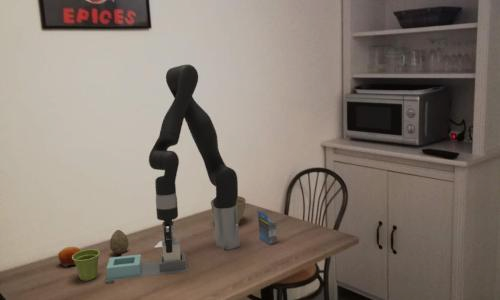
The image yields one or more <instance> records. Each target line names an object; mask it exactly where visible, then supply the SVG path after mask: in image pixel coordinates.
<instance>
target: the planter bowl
mask: <svg viewBox="0 0 500 300" xmlns="http://www.w3.org/2000/svg"><path fill="white" fill-rule="evenodd" d="M213 200H214V198H213V199H211V200H210V205H211V206H210V207H211V211H212V214H213V215H214V205H213ZM236 205H237V223H238V224H240V223H241V219H242V218H243V216H244V213H245V211H246V210H245V209H246V198H245V197H243V196H240V195H238V197H237V200H236Z"/></svg>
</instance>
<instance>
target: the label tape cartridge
mask: <svg viewBox="0 0 500 300" xmlns="http://www.w3.org/2000/svg"><path fill="white" fill-rule="evenodd" d="M257 218H258V233H259V234H258V235H259V237H258V238H259V239H261V240H262V241H263V242H265V244H268V245H272V244H273V245H274V244H277V224H276V223H275V222H273V221H272V220H270V219H269V217H268V215H267V214H265V213H263V212H262V211H260V210H257Z"/></svg>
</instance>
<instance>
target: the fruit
mask: <svg viewBox="0 0 500 300" xmlns="http://www.w3.org/2000/svg"><path fill="white" fill-rule="evenodd" d="M80 251H81V250H80V248H78V247H77V246H67V247H64V248H63V249H61V250H60V251H59V252H58V254H57V255H58V260H59V262H60V264H61V265H62V266H64V267H65V268H67V267H69V266H72V265H75V266H76V264H75V262H74V260H73V259H72V256H73V255H74V254H75V253H77V252H80Z"/></svg>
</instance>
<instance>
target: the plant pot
mask: <svg viewBox="0 0 500 300" xmlns="http://www.w3.org/2000/svg"><path fill="white" fill-rule="evenodd" d="M100 254H101V252H100V250H98V249H93V248H92V249H83V250H80V252H77V253H75V254H74V255H73V256H72V259H73V260H74V262H75V264H76V265H75V266H76V270H77V274H78V277H79V279H80V280H81V281H86V282H87V281H92V280H94V278H97V277H98V273H99V271H98V270H99V269H98V267H99V257H100Z"/></svg>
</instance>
